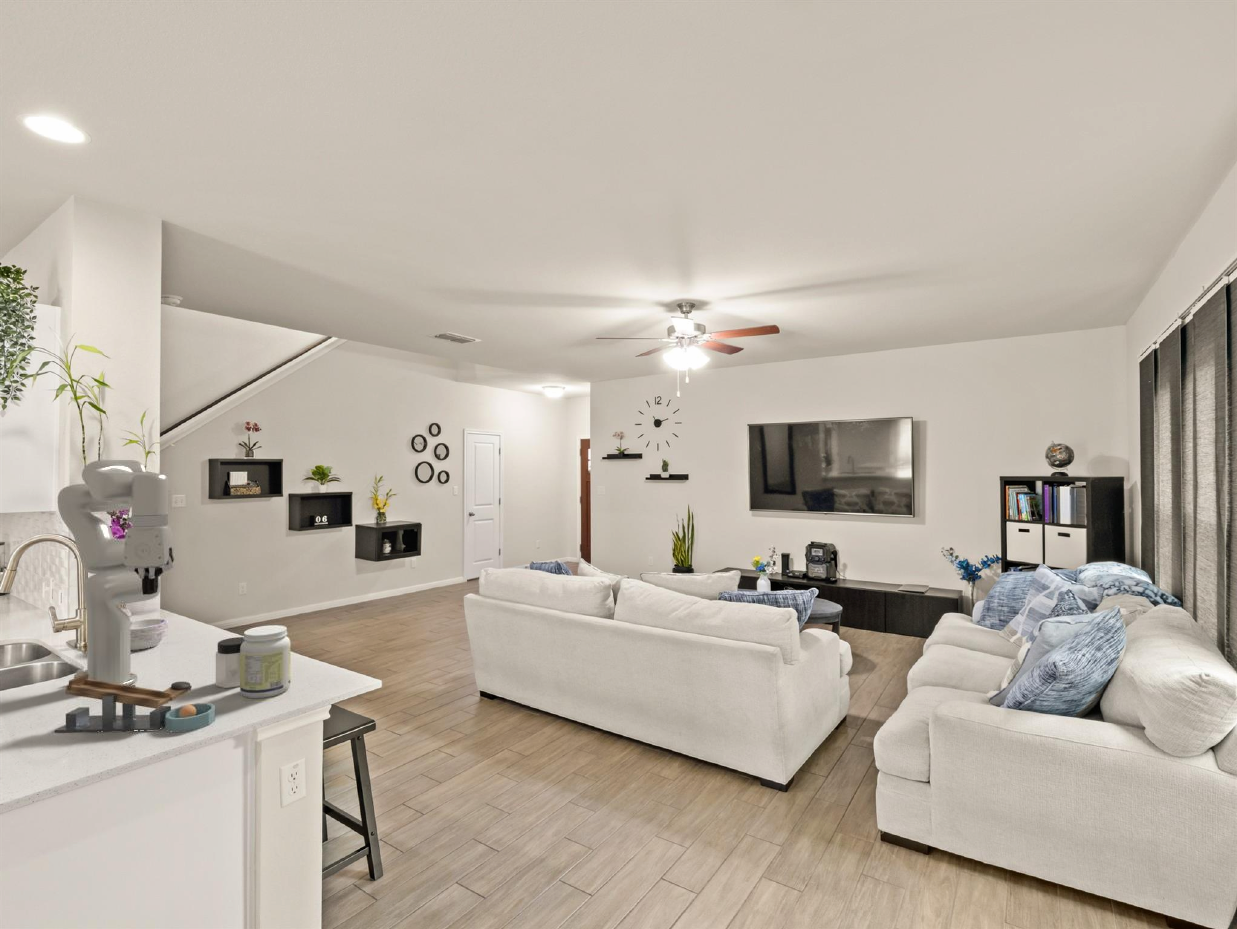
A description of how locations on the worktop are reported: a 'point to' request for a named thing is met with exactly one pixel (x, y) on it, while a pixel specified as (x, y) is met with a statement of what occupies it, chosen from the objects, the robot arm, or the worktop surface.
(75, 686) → the lever
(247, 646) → the supplement tub
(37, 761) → the worktop surface
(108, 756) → the worktop surface
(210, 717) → the dish
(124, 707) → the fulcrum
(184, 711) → the ball
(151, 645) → the paper bowls
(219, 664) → the jar
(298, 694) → the worktop surface
